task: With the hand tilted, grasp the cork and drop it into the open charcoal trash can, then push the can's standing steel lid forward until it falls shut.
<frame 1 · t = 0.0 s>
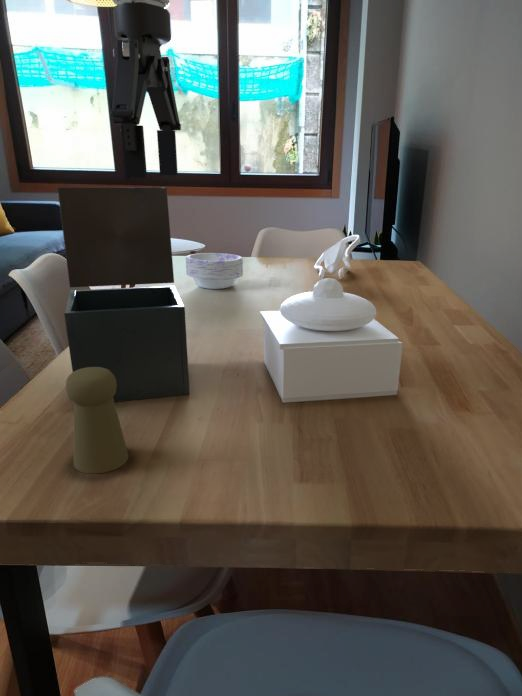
hand: (154, 176, 81), 30 cm above the table, tool pointing down, fingers open, 13 cm apart
white angular legged piece: (338, 275, 165), on the table
trash can: (133, 382, 84), on the table
bin lid: (118, 237, 83), point 21 cm above the table, hinge at 100.0°
cork: (101, 461, 63), on the table
paper bowls: (215, 286, 148), on the table
butter dish: (323, 378, 88), on the table
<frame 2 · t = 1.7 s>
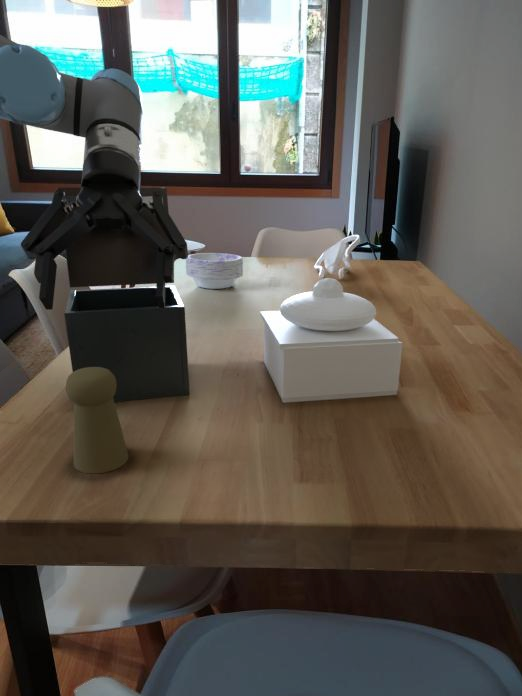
hand: (103, 303, 66), 16 cm above the table, tool tilted 45°, fingers open, 13 cm apart
nothing on the table moved.
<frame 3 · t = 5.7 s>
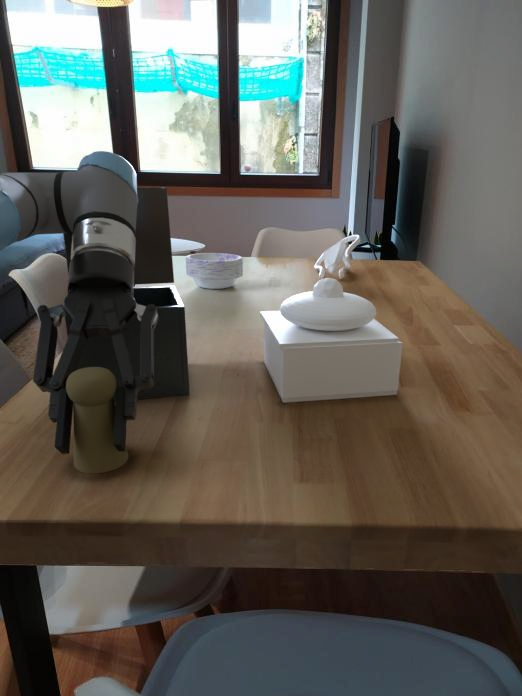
hand: (90, 448, 58), 4 cm above the table, tool tilted 45°, fingers closed on cork, 5 cm apart
cork: (101, 461, 63), on the table, touching gripper
everything else where it was.
when the fingers open (18 cm above the table, at t = 13.0 s): cork drops 14 cm, resting on trash can.
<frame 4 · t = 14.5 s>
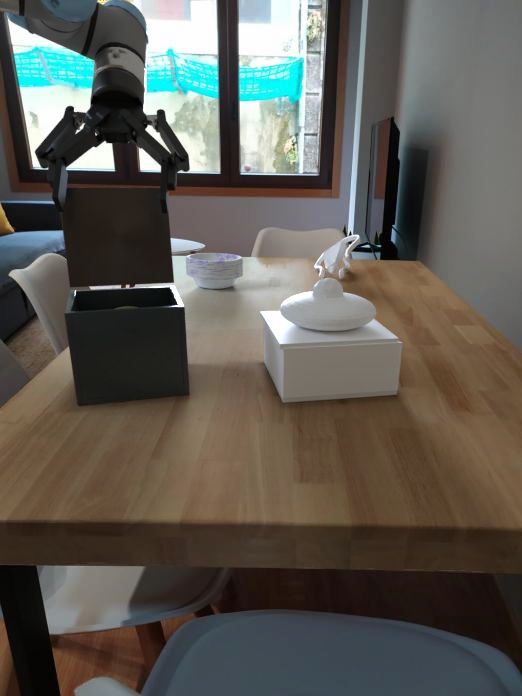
hand: (111, 206, 72), 26 cm above the table, tool tilted 45°, fingers open, 13 cm apart
cork: (133, 378, 84), point 1 cm above the table, touching trash can
everything else where it was.
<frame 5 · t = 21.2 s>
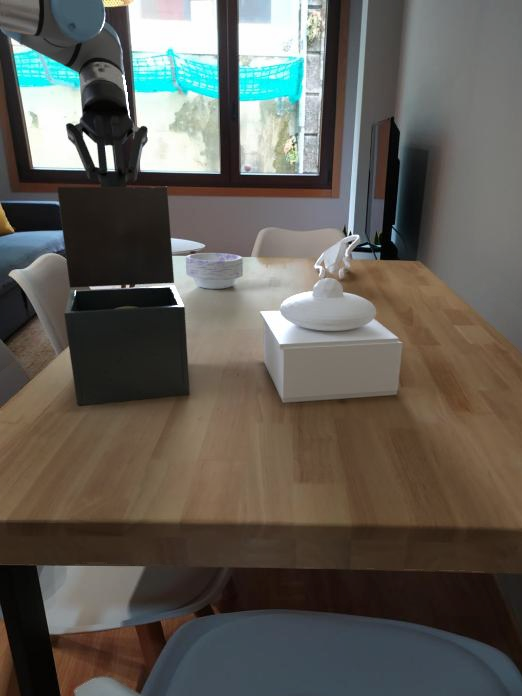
hand: (116, 211, 83), 24 cm above the table, tool tilted 45°, fingers closed
bin lid: (118, 237, 83), point 21 cm above the table, hinge at 96.8°, touching gripper
everything else where it was.
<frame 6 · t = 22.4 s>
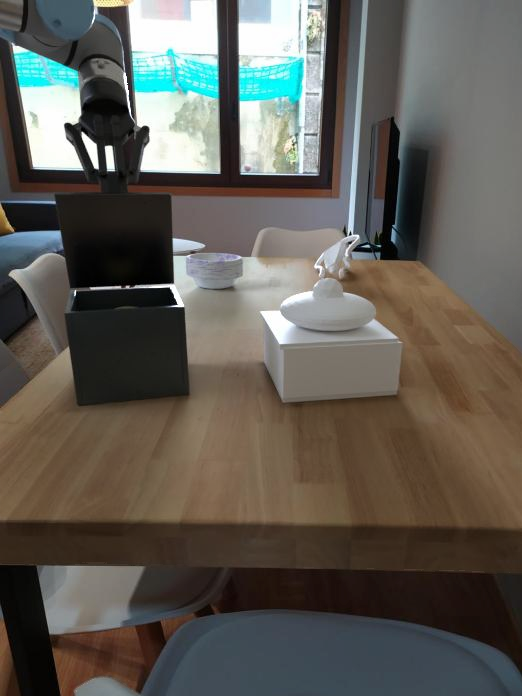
hand: (116, 216, 79), 24 cm above the table, tool tilted 45°, fingers closed
bin lid: (119, 241, 80), point 21 cm above the table, hinge at 73.3°
everything else where it was.
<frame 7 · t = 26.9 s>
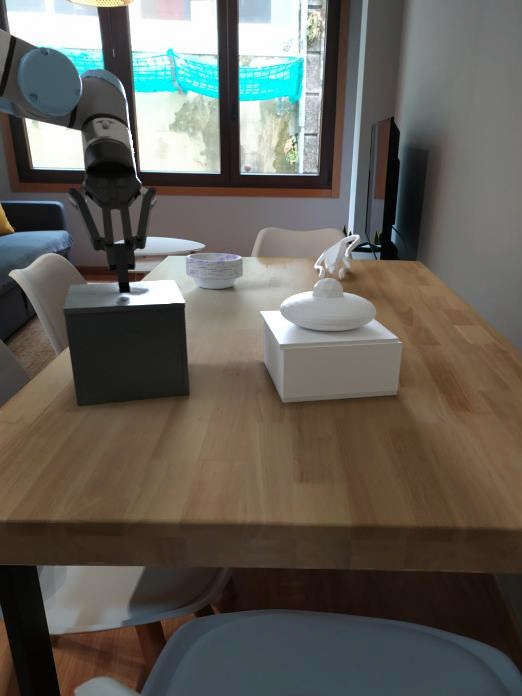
hand: (124, 287, 76), 15 cm above the table, tool tilted 45°, fingers closed
bin lid: (124, 295, 78), point 14 cm above the table, hinge at -0.2°, touching gripper, trash can
everything else where it was.
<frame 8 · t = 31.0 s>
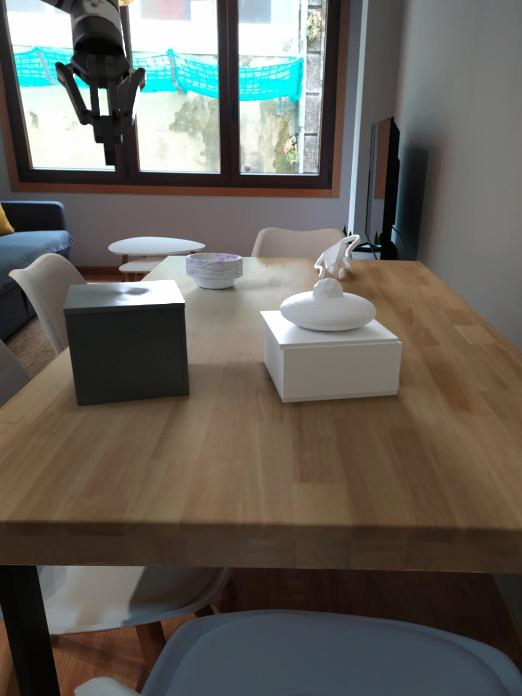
hand: (110, 158, 75), 32 cm above the table, tool tilted 45°, fingers closed
bin lid: (124, 295, 78), point 14 cm above the table, hinge at -0.2°
everything else where it was.
at the end: cork inside the target area in the trash can (0.1 cm from its centre), point 0.6 cm above the trash can's base; bin lid at +0° (first picture: +100°) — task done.
